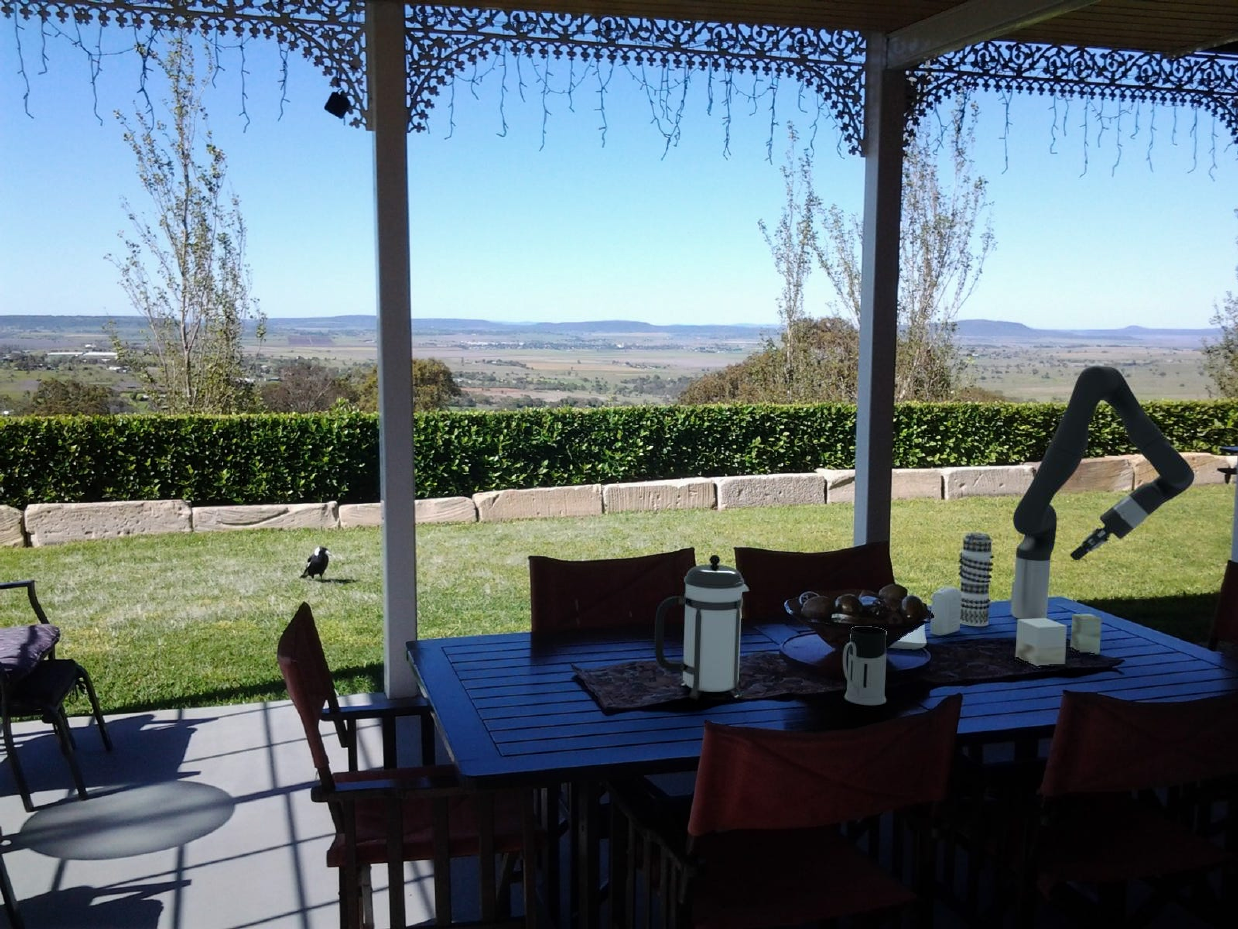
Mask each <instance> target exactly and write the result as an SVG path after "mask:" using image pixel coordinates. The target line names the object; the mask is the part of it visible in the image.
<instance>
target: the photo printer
mask: <svg viewBox="0 0 1238 929" xmlns="http://www.w3.org/2000/svg"><path fill="white" fill-rule="evenodd" d="M960 590H961V589H960V588H958V587H955V586H949V585H948V586H944V587H942V588H939V589H937V590H936V591H935V592H934V593H933V594H932V598H931V611H930V612H931V613H933V615H934V618H932V619H931V618H930V626H929V627H930V629H929V631H930V633H931V634H932V635H934V636H944V635H948V634H952V633H955V632H958V631H959V630H961V629H960V628H961V624H960V614H961V598H962V595H961V592H960ZM931 613H930V614H931Z"/></svg>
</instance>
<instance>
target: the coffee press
mask: <svg viewBox="0 0 1238 929" xmlns="http://www.w3.org/2000/svg"><path fill="white" fill-rule="evenodd" d="M708 561H709V562H710V564H700V565H695V566H693V567H691V568H690V569H689V570H688V571H687V573H686V575H685V576H684V577H683V578H684V579H683V581H684V583H685V593H684V596H677V595H676V596H669V597H668V598H665V599H664V600H663V601H662V602H661V603H660V604H659V605H658V608H657V609H656V615H655V623H654V655H655V659H656V662H658V664H659V665H660V666H661V667H662V668H663V669H665V670H666V671H676V672H677V671H681V672H682V674H683V675H682V677H681V679H680V680H679V684H680V686H682V687H684V686H688V687H689V688H691V692H690V694H689V697H690V699H693V700H698V699H699V698H700V695H701V694H702V693H703V692H710V693H711V692H712V693H716V692H721V693H722V692H726V691H727V692H729V693H731V695H732V696H733V698H735V699H738V698H741V697H742V696H743V691H742V690H741V688H740V686H739V675H740V674H739V673H740V655H741V654H740V653H741V651H740V650H741V649H740V648H741V628H742V626H741V624H742V622H741V621H742V620H741V619H742V607H743V601H744V599H743V597H744V596H742V595H743V594H742V593H743V592H749V591H750V590H749V587H748V586H747V585H746V584H745V579H744V578H743V577H742V574H741V572H740V571H739V570H738V569H737V568H734V567H733V566H728V565H724V564H719V563H720V562H721V558H720V556H719V555H717V554H713V555H710V557H709V559H708ZM678 605H684V629H683V630H684V636H683V637H684V638H683V659H682V661H679V662H678V661H668V660H667V659H666V657H665V655H664V639H665V638H664V634H665V633H664V632H665V630H664V628H665V616H666V613H667V611H668V610H669V608H671V607H673V606H678ZM734 688H735V690H734ZM737 693H738V694H737Z"/></svg>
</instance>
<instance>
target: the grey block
mask: <svg viewBox="0 0 1238 929" xmlns="http://www.w3.org/2000/svg"><path fill="white" fill-rule="evenodd" d="M1067 630H1068V626H1067V625H1066V624H1062V623H1059V622H1057V621H1054V620H1052V619H1051V618H1036V619H1019V618H1017V625H1016V638H1015V639H1016V640H1019V641H1021V642H1024V643H1026V644H1028V645H1031V646H1033V647H1036V648H1047V647H1064V646H1066V643H1067ZM1066 647H1067V646H1066Z"/></svg>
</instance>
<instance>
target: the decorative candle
mask: <svg viewBox="0 0 1238 929" xmlns="http://www.w3.org/2000/svg"><path fill="white" fill-rule="evenodd" d="M962 541H963V542H962V549H961V550H962V551H961V552H959V555H958V557H959V560H958V562H959V563H960V565H959V566H958V568H959V570H960V571H959V573H958V575H959V579H958V581H960V589H959V590H960V592H961V595H962V598H961V614H960V625H963V626H964V625H965V626H967V627H968V626H969V627H985V626H986V627H987V626H988V625H989V621H990V620H989V619H990V617H989V615H990V613H991V612H990V610H989V608H990V606H991V605H990V604H989V603H990V601H991V599H990V590H989V589H990V584H992V581H991V579H992V577H993V576H992V575H991V574H990V572H992V571H993V570H994V569H993V567H992V566H994V562H992V561H991V560H992V559H994V558H995V556H994V555H993V551H992V542H994V540H993V539H992V538H991V536H990V535H989V534H988V533H984V532H968V533H966V535H965V537H962Z"/></svg>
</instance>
